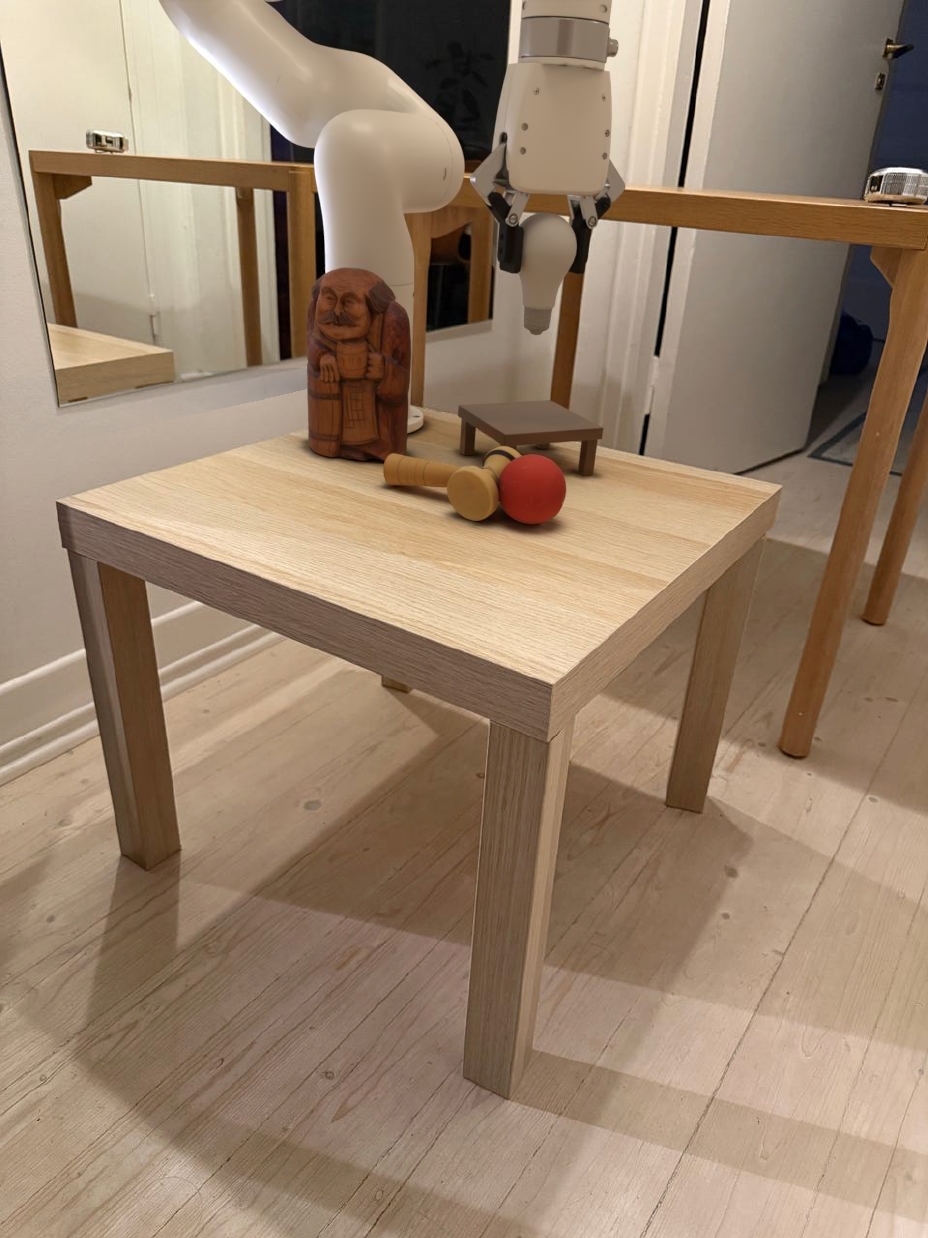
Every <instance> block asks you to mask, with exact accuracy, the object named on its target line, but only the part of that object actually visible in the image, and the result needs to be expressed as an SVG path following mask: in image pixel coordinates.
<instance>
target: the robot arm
mask: <svg viewBox="0 0 928 1238" xmlns="http://www.w3.org/2000/svg"><path fill="white" fill-rule="evenodd" d="M280 1H282V0H158V2H159V4H160V6H161V8H162V10H163V11H164V13H165V14H166V16H167V18H168V19H169V20H170V22H171V23H172V25H173V26H174V27H175V29H176V30H177V31H178V32H179V34H181V35H182V37H183V38H184V39H185V40H186V41H187V42H188V43H189V44H190V45H191V46H192V47H193V48H194V49H195V50H196V51H197V52H198V53H199V54H200V55H201V56H202V57H203V58H204V59H206V60H207V61H208V62H209V63H210V64H211V65H212V66H213V67H214V68H215V69H216V70H217V71H219V73H221V75H223V76H224V78H226V79H227V80H228V81H229V83H231V85H232V86H233V87H234V88H235V89H236V90H237V91H238V92H239V93H240V94H241V96H242V97H243V98H244V99H246V101H248V103H250V104H251V105H252V107H253V108H254V109H255V110H256V111H258V113H260V115H261V116H262V117H263V118H265V120H267V122H268V123H269V124H270V125H271V126H272V127H273V128H274V129H275V130H276V131H277V132H278V133H279V134H280V135H282V137H284V138H285V139H286V140H288V141H289V142H290V143H293V144H295V145H297V146H300V147H303V148H309V149H314V154H313V167H314V168H313V169H314V177H315V184H316V188H317V193H318V199H319V203H320V204H319V205H320V210H321V211H320V212H321V217H322V225H323V236H324V238H323V239H324V265H325V266H324V270H325V273H324V274H326V273H327V272H330V271H332V270H335V269H338V268H359V269H364V270H367V271H370V272H372V273H374V274H376V275H378V276H379V277H380V278H381V279H383V280H384V282H385V283H386V284H387V285H388V286H389V287H390V289H391V290H392V291H393V293H394V295H395V297H396V299H395V301H396V302H398V303H399V304H400V305H401V306H402V307H403V308H404V309H405V310H406V312H407V314H408V318H409V323H410V336H411V368H410V384H409V391H408V427H407V434H410V433H412V432H416V431H417V430H420V428H422V427H423V425H424V413H423V412H422V411H421V410H420V409H418V407H415V406H413V405H411V400H412V396H411V395H412V369H413V339H414V338H413V336H414V305H415V253H414V246H413V241H412V237H411V235H410V231H409V229H408V225H407V222H406V219H405V215H404V214H421V213H430V212H434V211H437V210H440V209H442V208H444V207H446V206H447V205H449V204H450V203H451V202H452V201H453V200H454V199H455V198H456V196H457V195H458V194H459V192H460V190H461V188H462V185H463V182H464V177H465V157H464V152H463V149H462V146H461V144H460V142H459V139H458V137H457V135H456V133H455V132H454V131H453V129H452V128H451V127H450V125H449V123H448V122H447V121H446V120H445V119H443V117H442V116H440V115H439V113H438V112H437V111H435V110H434V108H432V107H431V106H430V105H429V104H428V103H427V101H425V100H424V99H423V98H422V97H421V96H419V94H417V92H416V91H415V90H413V89H412V88H411V86H409V85H408V84H407V83H406V82H405V81H404V80H403V79H401V77H400V76H398V75H397V74H396V73H395V72H394V71H393V70H392V69H391V68H389V66H387V65H386V64H384V63H383V62H381V61H379V60H378V59H376V58H374V57H372V56H370V55H367V54H365V53H360V52H357V51H351V50H346V49H341V48H335V47H330V46H326V45H321V44H318V43H315V42H313V41H311V40H310V39H308V38H307V37H305V36H304V35H303V34H301V33H300V32H299V31H298V30H297V29H296V28H295V27H293V26H292V25H291V24H290V23H289V22H288V20H286V19H285V18H284V17H283V16H282V14H280V12H279V11H277V9H276V8H274V7H273V6H272V5H270V3H271V2H274V3H275V2H280ZM612 5H613V0H521V12H520V26H519V37H518V39H519V40H518V51H517V62H515V63H514V62H513V63H508V65H507V68H506V72H505V75H504V78H503V84H502V88H501V92H500V97H499V101H498V106H497V112H496V117H495V118H496V119H495V125H494V132H493V139H492V148H491V153H490V154H489V155H488V156H487V157H486V158H485V159H484V160H483V161H482V163H480V165H478V167H477V168H476V169H475V170H474V171H473V172H472V173H471V175H470V176H469V182H470V185H471V186H472V187H473V188H474V190H475V191H476V193H477V194H478V196H479V197H480V198H481V199H482V200H483V203H484V204H485V206H486V208H487V209H488V210H489V211H490V213H491V214H492V215H493V218H494V221H495V222H496V223H497V224H499V225H498V236H497V237H498V238H497V251H496V254H497V255H496V259H497V261H498V263H499V264H498V268H499V270H500V271H502V272H506V273H509V274H512V275H513V274H515V275H517V274H518V273H519V272H520V270H521V260H522V248H523V236H524V229H523V227H520V226H519V225H520V220H521V218H522V216H523V213H524V211H525V208H526V206H527V204H528V201H529V200H530V197H531V194H537V195H558V196H566V198H567V199H566V200H567V205H568V208H569V209H568V210H569V213H570V217H571V222H572V223H571V225H570V226H571V227H572V229H573V231H574V233H575V236H576V242H577V250H576V256H575V259H574V262H573V264H572V265H571V267H570V269H569V271H568V272H569V273H572V274H576V275H583V274H584V273H585V270H586V264H587V262H588V260H589V254H590V253H589V252H590V245H591V244H590V243H591V236H592V230H593V229H595V228H596V227H597V226H598V223H599V220H601V218H603V216H604V215H605V214H606V213H607V212H608V211H609V209H610V208H611V205H612V204H614V202H615V201H616V200H617V199H618V198H619V197H620V196H621V195H622V194H623V193H624V191H625V190H626V183H625V181H624V180H623V177H621V175H620V173H619V172H618V170H617V168H616V166H615V165H614V164H613V161H612V160H611V159H610V157H611V156H610V155H611V143H612V142H611V141H612V124H613V121H612V119H613V108H612V107H613V104H612V103H613V101H612V99H613V98H612V81H611V72H610V71H609V70H605V67H606V64H607V61H608V58H615V57H616V56H617V55H618V52H619V45H620V44H619V41H618V40H617V39H616V38H611V37H610V34H611V28H610V23H611V13H612ZM497 188H498V189H500V190H504V191H503V194H502V193H500V192H499V191H498V190H497ZM518 275H519V274H518Z"/></svg>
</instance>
